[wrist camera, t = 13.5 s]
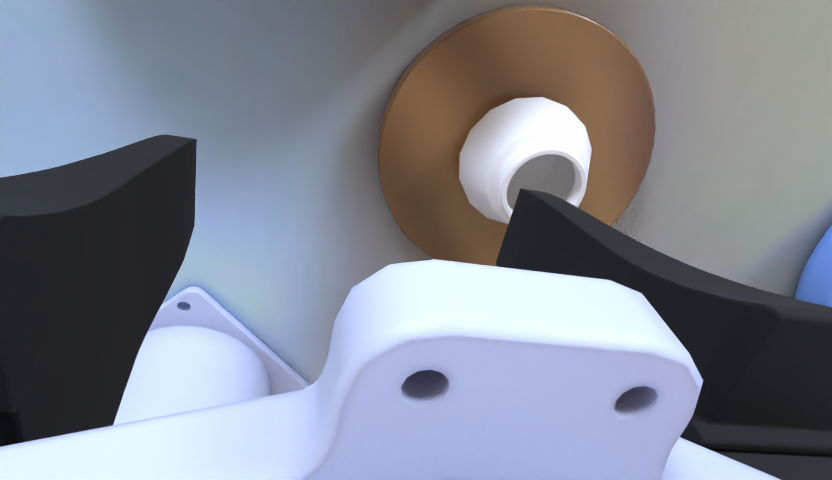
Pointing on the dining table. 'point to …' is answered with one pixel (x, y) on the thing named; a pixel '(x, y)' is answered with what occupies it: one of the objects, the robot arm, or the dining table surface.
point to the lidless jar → (524, 156)
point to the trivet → (498, 84)
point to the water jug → (818, 274)
